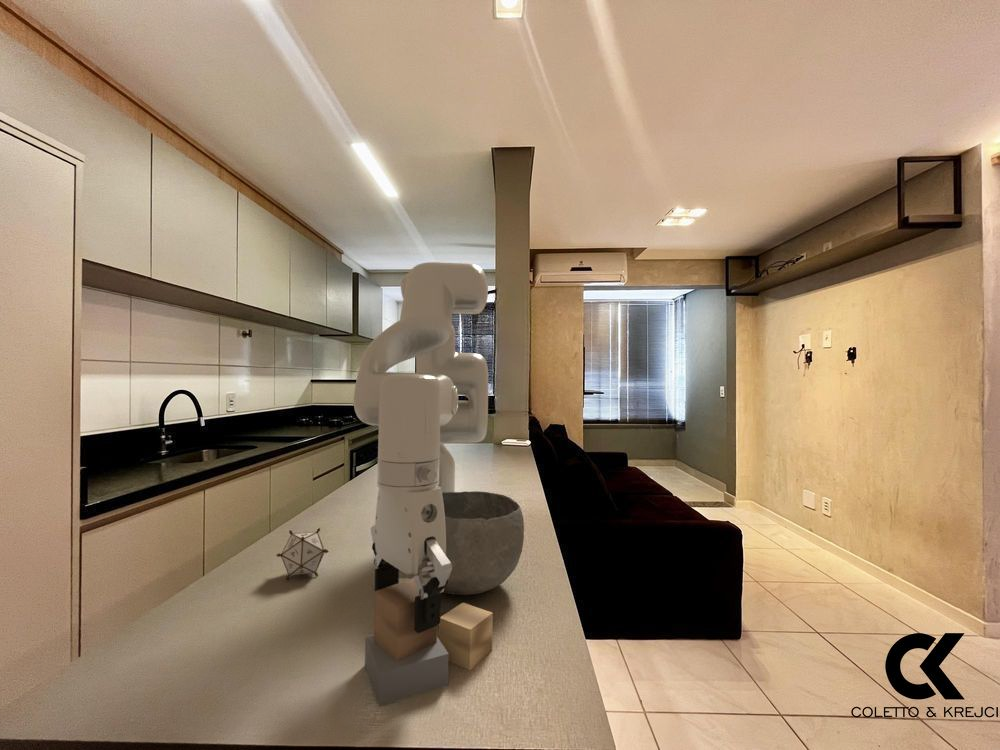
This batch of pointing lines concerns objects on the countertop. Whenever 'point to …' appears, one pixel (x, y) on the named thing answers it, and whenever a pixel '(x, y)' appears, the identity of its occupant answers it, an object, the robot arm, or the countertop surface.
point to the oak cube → (466, 634)
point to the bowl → (480, 540)
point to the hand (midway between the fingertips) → (405, 611)
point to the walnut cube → (399, 621)
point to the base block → (405, 671)
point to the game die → (302, 553)
